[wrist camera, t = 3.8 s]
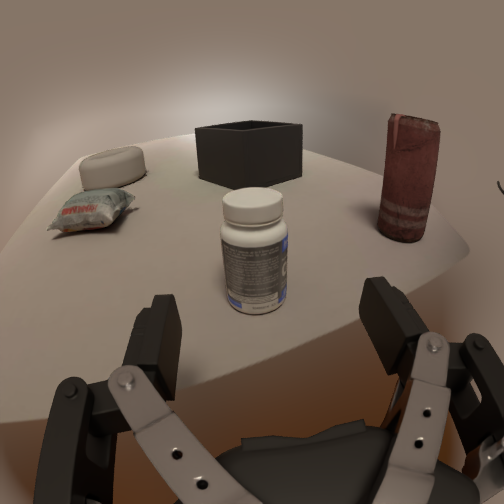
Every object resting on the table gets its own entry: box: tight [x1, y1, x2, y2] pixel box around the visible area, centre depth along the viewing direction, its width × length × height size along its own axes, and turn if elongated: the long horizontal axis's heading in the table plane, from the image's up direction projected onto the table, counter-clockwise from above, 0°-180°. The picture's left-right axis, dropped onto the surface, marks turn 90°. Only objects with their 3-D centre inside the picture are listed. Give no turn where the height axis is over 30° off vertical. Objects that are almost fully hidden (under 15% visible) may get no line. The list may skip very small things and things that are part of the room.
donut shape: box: [79, 146, 146, 191], centre depth 56 cm, size 15×15×7 cm
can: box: [377, 114, 440, 243], centre depth 28 cm, size 6×6×14 cm
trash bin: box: [195, 120, 303, 190], centre depth 50 cm, size 14×14×10 cm
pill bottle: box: [220, 187, 288, 314], centre depth 21 cm, size 5×5×8 cm
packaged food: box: [47, 188, 135, 232], centre depth 36 cm, size 9×12×5 cm
